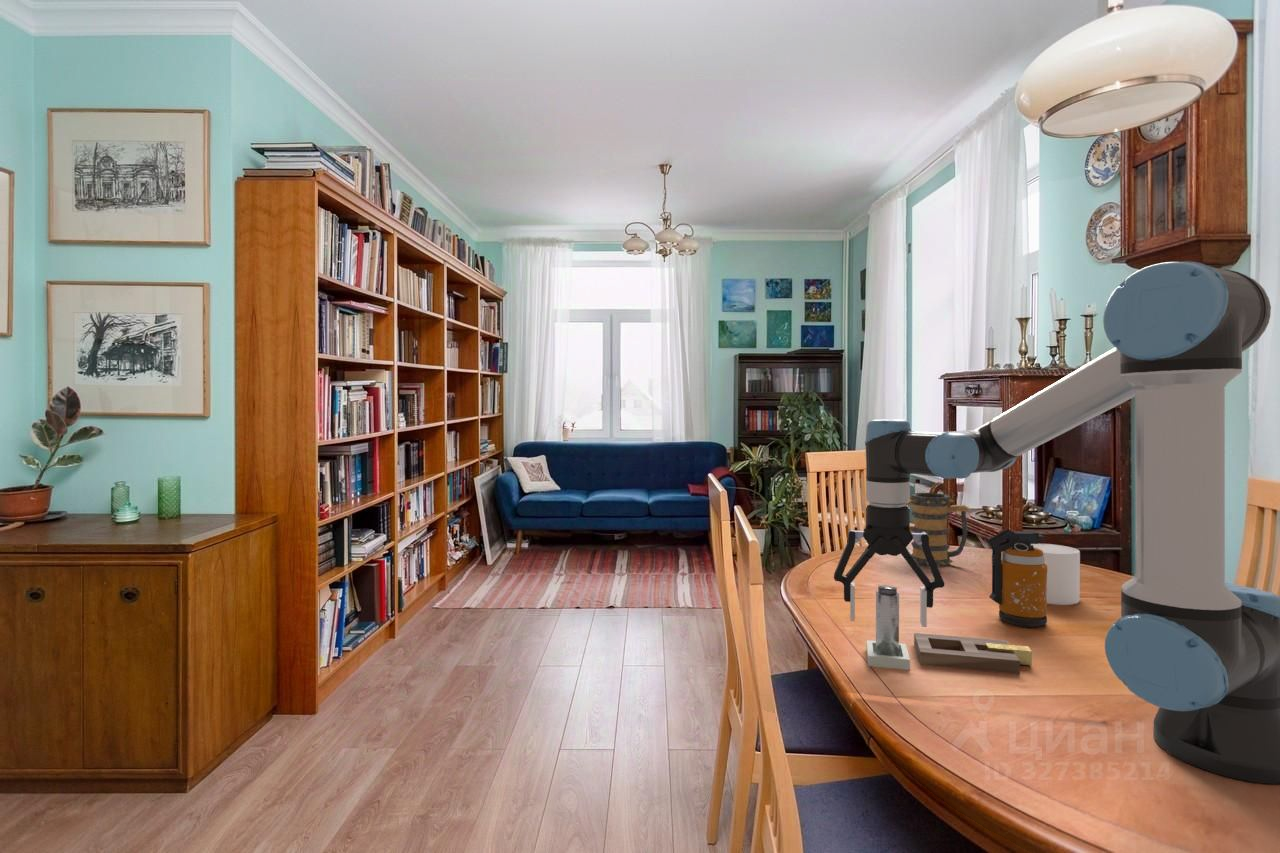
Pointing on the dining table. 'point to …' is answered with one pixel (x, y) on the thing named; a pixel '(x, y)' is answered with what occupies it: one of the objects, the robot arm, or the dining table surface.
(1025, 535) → the canister
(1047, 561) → the cup
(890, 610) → the metal round-nosed cylinder
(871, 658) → the pale grey square tray
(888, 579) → the dining table surface
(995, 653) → the socket block
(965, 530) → the mug
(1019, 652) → the bar
